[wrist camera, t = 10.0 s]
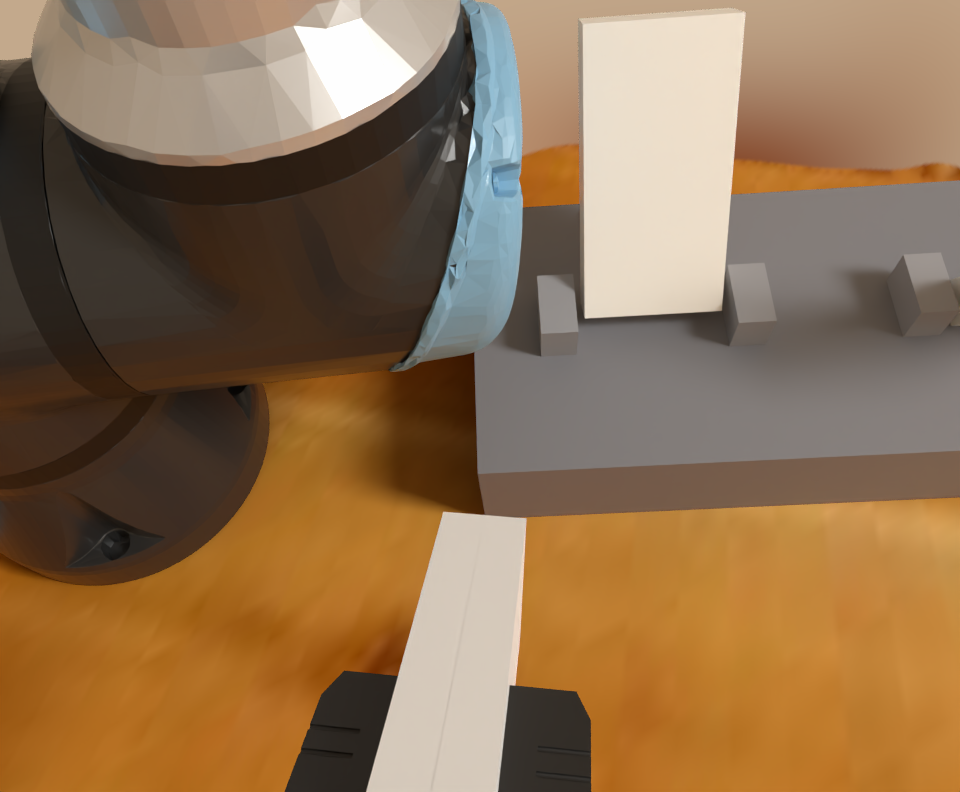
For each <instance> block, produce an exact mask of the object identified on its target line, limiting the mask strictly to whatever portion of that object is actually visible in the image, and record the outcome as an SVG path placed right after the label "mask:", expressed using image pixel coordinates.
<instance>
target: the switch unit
mask: <svg viewBox="0 0 960 792" xmlns="http://www.w3.org/2000/svg"><path fill="white" fill-rule="evenodd" d="M958 277H960V181H946V182H930V183H913V184H897V185H881V186H865V187H849V188H832V189H816V190H800V191H784V192H768V193H751V194H735V195H731V200H730V213H729V225H728V238H727V250H726V263H725V276H724V288H723V301H722V311H711V312H693V313H675V314H657V315H639V316H621V317H603V318H584V313H583V309H582V305H581V294H580V204H573V205H557V206H541V207H525V208H523V210H522V239H521V252H520V262H519V272H518V279H517V286H516V291H515V297H514V301H513V305H512V308H511V311H510V315H509V317H508V320H507V322H506V324H505V325H504V327H503V329H502V330H501V332H500V333H499V335H498V336H497V337H496V338H495V339H494V340H493V341H492V342H491V343H490V344H489V345H487V346H485V347H484V348H482V349H481V350H478V351H476V352H474V359H475V395H476V431H477V467H478V478H479V484H480V490H481V495H482V501H483V507H484V512H485V515H490V516H502V517H514V518H515V517H537V516H559V515H580V514H602V513H624V512H646V511H668V510H690V509H711V508H733V507H755V506H777V505H799V504H820V503H842V502H864V501H886V500H908V499H929V498H951V497H960V326H951V324H950V322H951V321H952V320H953V319H954V318H955V316H956V315H957V314H958V313H959V312H960V308H959V305H958V302H957V299H956V297H955V294H954V291H953V288H952V285H951V282H950V280H952V279H955V278H958Z"/></svg>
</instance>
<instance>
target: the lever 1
mask: <svg viewBox="0 0 960 792" xmlns="http://www.w3.org/2000/svg"><path fill="white" fill-rule="evenodd" d="M744 24H745V12H742V11H740V10H737V9H734V8H722V9H708V10H694V11H681V12H666V13H652V14H638V15H624V16H609V17H595V18H582V19H578V59H579V60H578V61H579V63H578V72H579V183H580V294H581V305H582V309H583V313H584V318H603V317H621V316H639V315H657V314H675V313H693V312H711V311H722V301H723V288H724V276H725V263H726V250H727V238H728V225H729V213H730V200H731V188H732V175H733V162H734V150H735V137H736V125H737V111H738V100H739V87H740V86H739V85H740V74H741V62H742V48H743V36H744Z"/></svg>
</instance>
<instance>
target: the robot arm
mask: <svg viewBox="0 0 960 792" xmlns="http://www.w3.org/2000/svg"><path fill="white" fill-rule="evenodd" d="M31 56H32V58H24V59H17V60H0V553H2V554H3V555H4V556H6V557H7V558H9V559H11V560H13V561H14V562H16V563H18V564H20V565H22V566H24V567H26V568H28V569H30V570H32V571H34V572H36V573H39V574H41V575H43V576H46V577H48V578H51V579H54V580H57V581H62V582H66V583H71V584H78V585H109V584H117V583H124V582H128V581H132V580H136V579H140V578H143V577H146V576H149V575H152V574H154V573H157V572H159V571H162V570H164V569H166V568H168V567H170V566H172V565H174V564H176V563H178V562H180V561H181V560H183V559H185V558H186V557H188V556H189V555H191V554H192V553H194V552H195V551H197V550H198V549H199V548H201V547H202V546H203V545H205V544H206V543H207V542H208V541H209V540H211V539H212V538H213V537H214V536H215V535H216V534H217V533H218V532H219V531H220V530H221V529H222V528H223V527H224V526H225V525H226V524H227V523H228V522H229V521H230V519H231V518H232V517H233V516H234V515H235V513H236V512H237V511H238V509H239V508H240V507H241V505H242V504H243V502H244V501H245V499H246V498H247V496H248V494H249V493H250V491H251V489H252V487H253V485H254V483H255V481H256V479H257V477H258V474H259V472H260V469H261V466H262V464H263V460H264V457H265V453H266V449H267V444H268V436H269V409H268V402H267V397H266V393H265V390H264V387H263V384H262V383H269V382H278V381H288V380H297V379H307V378H316V377H326V376H335V375H344V374H354V373H363V372H373V371H382V370H389V371H391V372H397V371H405V370H407V369H409V368H411V367H413V366H415V365H417V364H418V363H420V362H426V361H431V360H437V359H443V358H449V357H454V356H460V355H466V354H470V353H473V352H476V351H478V350H481V349H482V348H484V347H485V346H487V345H489V344H490V343H491V342H492V341H493V340H494V339H495V338H496V337H497V336H498V335H499V333H500V332H501V330H502V329H503V327H504V325H505V324H506V322H507V320H508V317H509V315H510V311H511V308H512V305H513V301H514V297H515V291H516V286H517V279H518V272H519V262H520V252H521V239H522V210H523V197H522V191H521V186H520V183H519V180H518V179H519V176H520V173H521V157H522V140H523V136H522V114H521V101H520V89H519V79H518V70H517V62H516V57H515V51H514V47H513V42H512V38H511V34H510V29H509V26H508V23H507V21H506V19H505V17H504V15H503V14H502V12H501V11H500V10H499V9H498V8H496V7H495V6H494V5H492V4H489V3H484V2H476V1H474V0H47V2H46V4H45V7H44V9H43V11H42V14H41V16H40V19H39V22H38V25H37V28H36V31H35V34H34V39H33V46H32V53H31ZM525 535H526V518H514V517H502V516H490V515H477V514H465V513H452V512H443V515H442V519H441V523H440V526H439V530H438V533H437V537H436V541H435V544H434V548H433V552H432V555H431V559H430V562H429V566H428V570H427V573H426V577H425V581H424V584H423V588H422V591H421V595H420V599H419V602H418V606H417V609H416V613H415V617H414V620H413V624H412V628H411V631H410V635H409V638H408V642H407V646H406V649H405V653H404V657H403V660H402V664H401V667H400V671H399V675H398V676H392V675H382V674H372V673H361V672H351V671H344V672H343V673H342V674H341V675H340V676H339V677H338V678H337V679H336V680H335V681H334V682H333V683H332V684H331V685H330V686H329V687H328V688H327V689H326V690H325V691H324V693H323V694H322V695H321V697H320V700H319V702H318V705H317V708H316V710H315V713H314V716H313V718H312V721H311V723H310V729H309V730H308V731H307V734H306V737H305V739H304V742H303V745H302V747H301V753H300V754H299V755H298V758H297V760H296V763H295V766H294V768H293V771H292V774H291V776H290V779H289V782H288V784H287V787H286V789H285V792H591V720H590V718H589V716H588V714H587V712H586V710H585V708H584V706H583V704H582V702H581V700H580V698H579V696H578V694H577V692H574V691H564V690H553V689H543V688H533V687H523V686H515V682H516V672H517V662H518V653H519V643H520V629H521V610H522V591H523V572H524V554H525Z"/></svg>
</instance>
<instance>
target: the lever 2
mask: <svg viewBox="0 0 960 792" xmlns="http://www.w3.org/2000/svg"><path fill="white" fill-rule="evenodd" d="M950 282H951V285H952V288H953V291H954V294H955V297H956V299H957V302H958V305H959V308H960V277H958V278H955V279H952V280H950ZM950 324H951V326H960V312H959V313H958V314H957V315H956V316H955V318H954V319H953V320H952V321H951V322H950Z"/></svg>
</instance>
